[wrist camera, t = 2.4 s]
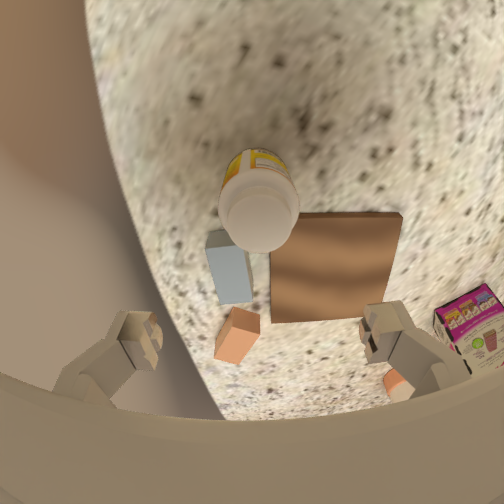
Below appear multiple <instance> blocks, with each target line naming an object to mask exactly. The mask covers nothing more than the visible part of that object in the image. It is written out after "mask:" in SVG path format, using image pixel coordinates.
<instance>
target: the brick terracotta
mask: <svg viewBox="0 0 504 504" xmlns="http://www.w3.org/2000/svg"><path fill="white" fill-rule="evenodd" d="M259 336H260V315H259V314H256V313H252V312H249V311H246V310H243V309H240V308H236V307H233V309H232V311H231V312H230V314H229V316H228V318H227V320H226V322H225V324H224V325H223V327H222V329H221V331H220V333H219V335H218V337H217V338H216V343H215V351H214V359H218V360H222V361H226V362H229V363H233V364H237V365H239V364H240V362H241V361H242V359H243V358H244V357H245V355H246V354H247V353H248V351H249V350H250V348H251V347H252V346H253V344H254V343H255V341H256V340H257V338H258V337H259Z"/></svg>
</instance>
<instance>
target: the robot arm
mask: <svg viewBox="0 0 504 504" xmlns="http://www.w3.org/2000/svg"><path fill="white" fill-rule="evenodd" d="M363 313H364V317H363V318H362V319H361V320H360V325H359V335H360V340H361V342H362V343H363V344H364V345H365V346H366V348H365V350H364V352H365V355H366V358H367V361H368V364H372V363H380V362H386V361H388V363H389V364H390V365H391V366H392V367H393V368H394V369H395V370H396V371H397V372H398V373H399V374H400V375H401V376H402V377H403V378H404V379H405V380H406V381H407V382H408V383H409V384H410V385H412V386H413V387H414V388H415V391H414V392H413V393H412V395H411V396H410V398H409V399H408V400H405V401H401V402H397V403H393V404H388V405H384V406H379V407H375V408H370V409H364V410H359V411H353V412H347V413H340V414H333V415H326V416H317V417H307V418H296V419H281V420H255V421H230V420H204V419H190V418H178V417H169V416H160V415H153V414H145V413H139V412H133V411H127V410H122V409H117V407H116V406H115V405H114V404H113V403H112V401H111V400H110V398H111V397H112V396H113V395H114V394H115V392H116V391H117V390H118V389H119V388H120V387H121V386H122V385H123V384H124V383H125V382H126V381H127V380H128V379H129V378H130V377H131V375H132V374H133V373H134V372H135V371H136V370H147V371H148V370H149V371H155V368H156V364H157V361H158V356H157V354H156V353H157V352H158V351H159V350H161V347H162V341H163V335H162V331H161V328H160V327H159V326H158V325H157V324H156V321H157V318H156V315H155V313H153V312H140V311H121V310H120V311H119V312H118V313H117V314H116V316H115V318H114V321H113V322H112V325H111V327H110V329H109V331H108V333H107V336H106V337H105V339H101V340H100V341H98V342H97V343H96V344H94V345H93V346H92V347H90V348H89V349H88V350H86V351H85V352H84V353H82V354H81V355H80V356H79V357H77V358H76V359H74V360H73V361H72V362H70V363H69V364H68V365H66V366H65V367H64V368H63V369H62V371H61V373H60V375H59V377H58V379H57V381H56V384H55V386H54V388H53V390H52V392H51V391H48V390H45V389H42V388H39V387H36V386H33V385H31V384H28V383H26V382H23V381H20V380H18V379H15V378H13V377H11V376H8V375H6V374H4V373H1V372H0V504H504V365H503V366H500V367H498V368H496V369H494V370H492V371H489V372H487V373H485V374H482V375H480V376H478V377H475V378H473V379H472V377H471V375H470V373H469V371H468V369H467V367H466V365H465V363H464V361H463V359H462V357H461V356H460V355H459V354H458V353H456V352H455V351H453V350H452V349H450V348H449V347H447V346H446V345H444V344H443V343H441V342H440V341H438V340H437V339H435V338H434V337H432V336H431V335H429V334H428V333H426V332H425V331H423V330H422V329H420V328H416V326H415V324H414V323H413V321H412V319H411V317H410V315H409V313H408V311H407V310H406V308H405V306H404V304H403V302H402V301H400V300H397V301H390V302H382V303H373V304H366V305H365V307H364V310H363Z"/></svg>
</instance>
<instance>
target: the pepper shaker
mask: <svg viewBox="0 0 504 504" xmlns="http://www.w3.org/2000/svg"><path fill="white" fill-rule="evenodd" d="M383 381H384V384H385V388H386V391H387V394H388V396H389V397H391V401H392V404H393V403H397V402H401V401H405V400H408V399H409V398H410V396H411V395H412V393H413V392H414V391H415V388H414V387H413V386H412V385H410V384H409V383H408V382H407V381H406V380H405V379H404V378H403V377H402V376H401V375H400V374H399V373H398V372H397V371H396V370H395V369H394V368H393V369H392V370H390V371H389V372H388V373H387V374H386V375H385V376H384V379H383Z"/></svg>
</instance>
